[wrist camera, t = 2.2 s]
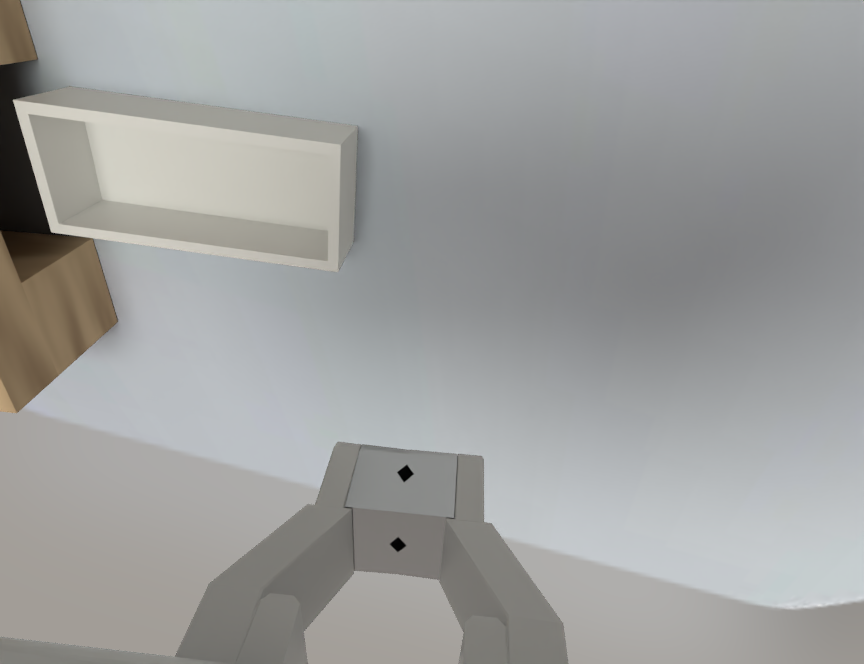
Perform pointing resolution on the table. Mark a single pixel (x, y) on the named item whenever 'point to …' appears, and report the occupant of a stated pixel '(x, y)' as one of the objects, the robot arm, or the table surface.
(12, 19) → the overhang dock
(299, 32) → the table surface
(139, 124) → the white drawer
